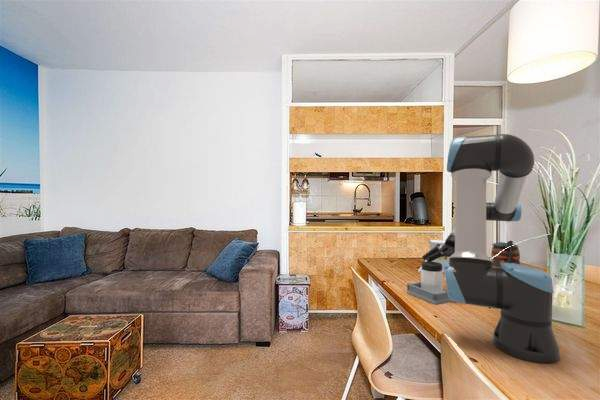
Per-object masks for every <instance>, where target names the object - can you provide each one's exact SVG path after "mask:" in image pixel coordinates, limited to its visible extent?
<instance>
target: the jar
mask: <svg viewBox="0 0 600 400" xmlns="http://www.w3.org/2000/svg"><path fill="white" fill-rule="evenodd" d="M421 264H422V268H421V274H420V282H421V288H422V289H425V290H427V291H430V292H433V293H440V292H443V290H444V289H443V288H444V287H443V286H444V285H443V284H444V273H443V271H442V264H441V263H438V262H430V261H426V262H423V261H422V262H421Z"/></svg>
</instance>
